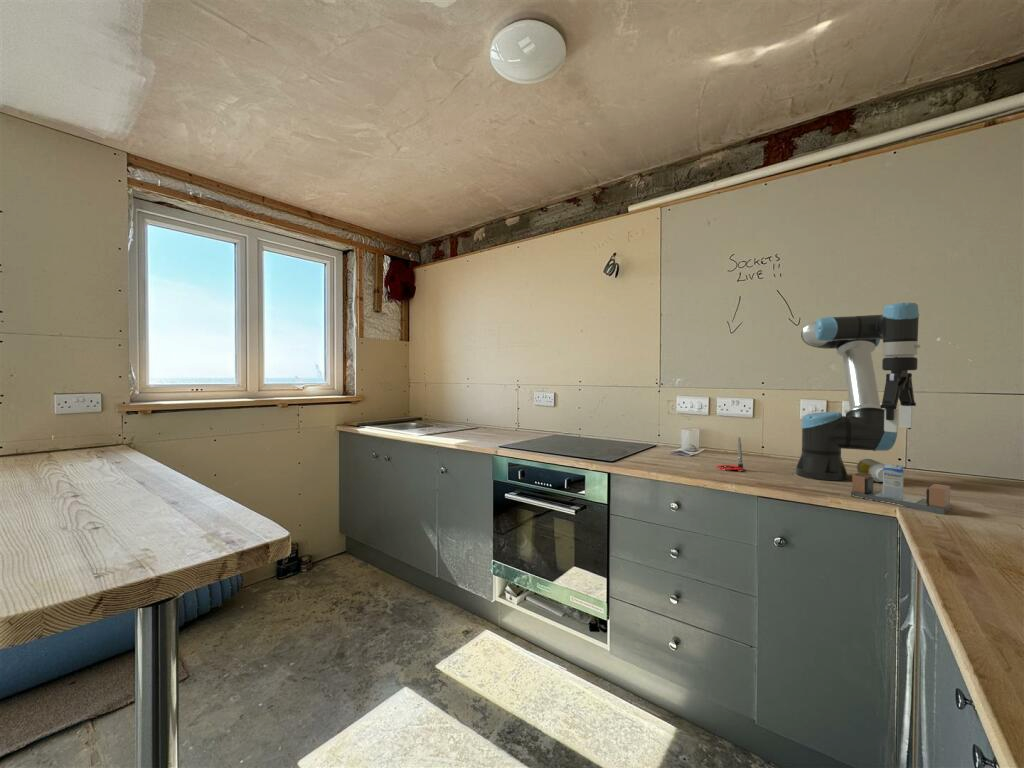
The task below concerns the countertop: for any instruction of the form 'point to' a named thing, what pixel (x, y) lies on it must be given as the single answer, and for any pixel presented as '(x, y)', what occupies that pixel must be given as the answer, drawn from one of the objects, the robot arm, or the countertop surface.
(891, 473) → the medicine box
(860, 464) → the supplement bottle
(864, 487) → the rail
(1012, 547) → the countertop surface
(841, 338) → the robot arm
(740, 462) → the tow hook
